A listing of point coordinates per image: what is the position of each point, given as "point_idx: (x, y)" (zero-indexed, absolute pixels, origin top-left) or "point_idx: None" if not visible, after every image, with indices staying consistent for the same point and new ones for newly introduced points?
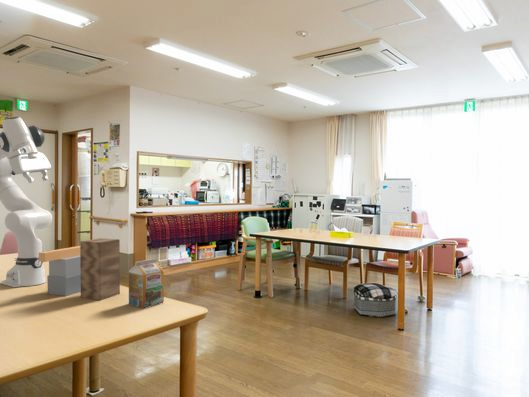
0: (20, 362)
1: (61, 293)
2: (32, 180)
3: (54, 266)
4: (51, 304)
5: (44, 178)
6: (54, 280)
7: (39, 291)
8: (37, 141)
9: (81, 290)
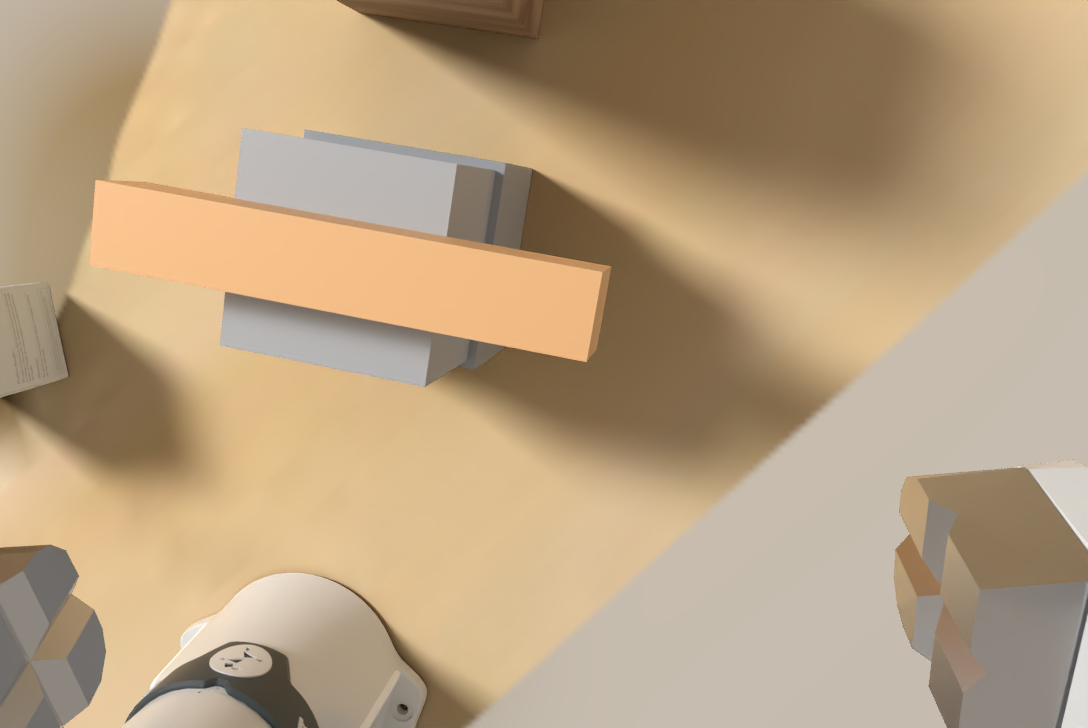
0: None
1: (522, 214)
2: (1046, 481)
3: None
4: (737, 115)
5: (30, 663)
6: None
7: (470, 444)
8: None
9: (529, 21)
